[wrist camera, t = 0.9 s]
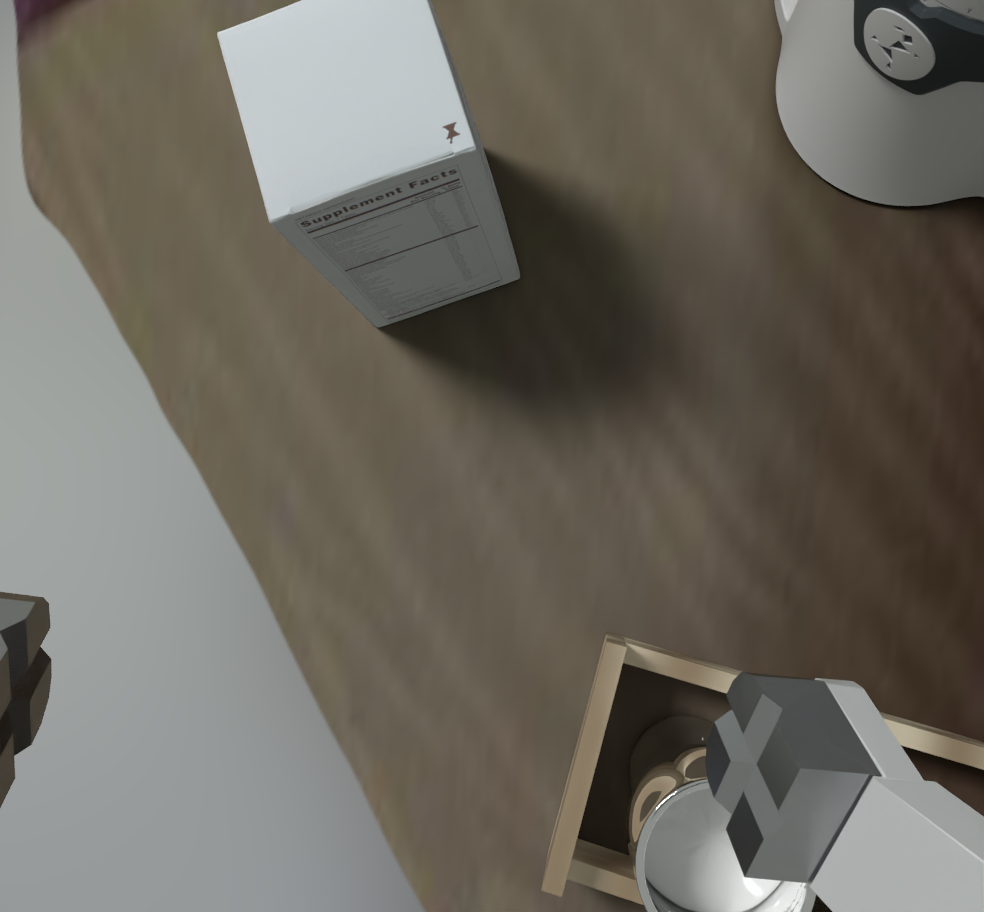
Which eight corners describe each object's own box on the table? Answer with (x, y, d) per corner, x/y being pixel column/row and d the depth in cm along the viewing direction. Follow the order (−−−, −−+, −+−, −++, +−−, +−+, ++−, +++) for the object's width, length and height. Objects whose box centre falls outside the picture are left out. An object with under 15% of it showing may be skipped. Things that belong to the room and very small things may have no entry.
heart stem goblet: (751, 847, 46) (823, 983, 31) (618, 834, 47) (625, 960, 32) (755, 711, 47) (826, 781, 32) (623, 701, 48) (633, 764, 33)
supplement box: (479, 140, 53) (422, -55, 36) (525, 280, 51) (488, 145, 35) (330, 193, 53) (207, 26, 37) (372, 332, 52) (263, 225, 35)
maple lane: (1004, 748, 45) (1065, 776, 39) (952, 983, 44) (1006, 1049, 38) (606, 631, 48) (606, 641, 42) (548, 849, 47) (541, 890, 41)
